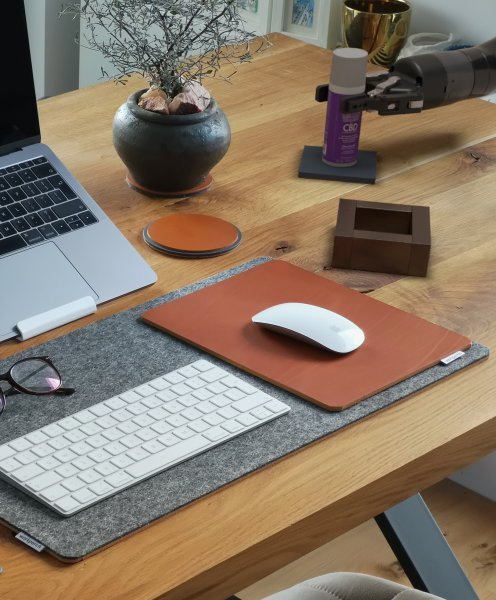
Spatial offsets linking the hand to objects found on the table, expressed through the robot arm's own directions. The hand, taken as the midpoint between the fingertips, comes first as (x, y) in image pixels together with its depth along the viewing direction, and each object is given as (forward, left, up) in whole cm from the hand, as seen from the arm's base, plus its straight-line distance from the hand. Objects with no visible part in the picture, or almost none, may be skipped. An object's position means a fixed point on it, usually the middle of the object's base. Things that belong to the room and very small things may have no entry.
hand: (329, 100), depth 146 cm
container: (-2, -2, -9) cm, 10 cm away
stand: (-8, +23, -10) cm, 27 cm away
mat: (-2, -2, -10) cm, 10 cm away
